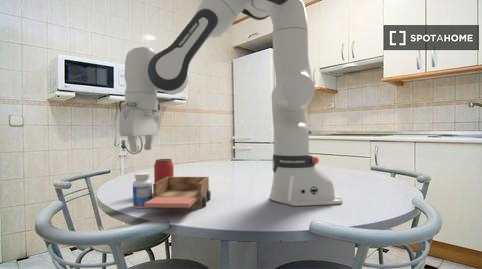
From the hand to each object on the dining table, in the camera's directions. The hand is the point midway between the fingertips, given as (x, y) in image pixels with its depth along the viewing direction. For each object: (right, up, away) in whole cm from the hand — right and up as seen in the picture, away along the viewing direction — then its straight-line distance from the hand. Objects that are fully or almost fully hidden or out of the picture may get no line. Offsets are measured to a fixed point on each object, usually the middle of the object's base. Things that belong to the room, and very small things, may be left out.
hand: (141, 151), depth 82 cm
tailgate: (+11, -13, -3) cm, 18 cm away
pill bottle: (0, -17, 0) cm, 17 cm away
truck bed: (+11, -16, +4) cm, 20 cm away
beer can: (+2, -16, +16) cm, 23 cm away
